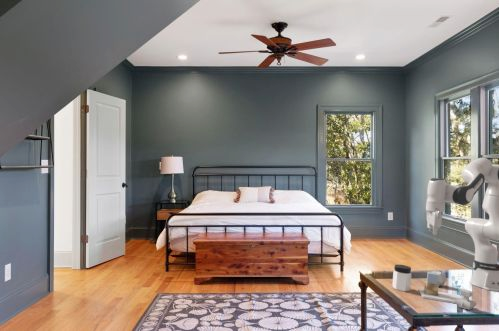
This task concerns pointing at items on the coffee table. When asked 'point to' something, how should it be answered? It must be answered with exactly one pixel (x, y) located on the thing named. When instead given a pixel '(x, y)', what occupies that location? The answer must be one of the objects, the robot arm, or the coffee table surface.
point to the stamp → (466, 300)
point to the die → (440, 278)
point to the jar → (402, 278)
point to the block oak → (431, 288)
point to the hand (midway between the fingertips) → (432, 233)
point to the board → (441, 296)
